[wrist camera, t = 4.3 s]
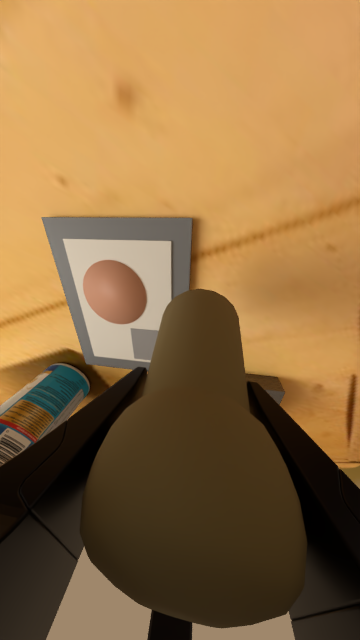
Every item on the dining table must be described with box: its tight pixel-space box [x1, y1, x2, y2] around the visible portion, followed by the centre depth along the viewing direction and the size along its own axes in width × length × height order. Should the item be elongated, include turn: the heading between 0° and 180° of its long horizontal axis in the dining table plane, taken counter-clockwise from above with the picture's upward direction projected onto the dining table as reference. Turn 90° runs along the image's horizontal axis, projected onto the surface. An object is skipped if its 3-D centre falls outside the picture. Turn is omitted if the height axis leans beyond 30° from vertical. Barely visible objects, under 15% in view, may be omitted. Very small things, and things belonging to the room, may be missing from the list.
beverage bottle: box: [0, 363, 90, 466], centre depth 20 cm, size 8×8×20 cm
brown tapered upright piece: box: [80, 289, 307, 628], centre depth 8 cm, size 6×6×11 cm
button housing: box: [245, 374, 285, 405], centre depth 24 cm, size 8×8×2 cm
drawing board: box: [41, 217, 193, 371], centre depth 21 cm, size 20×16×1 cm
